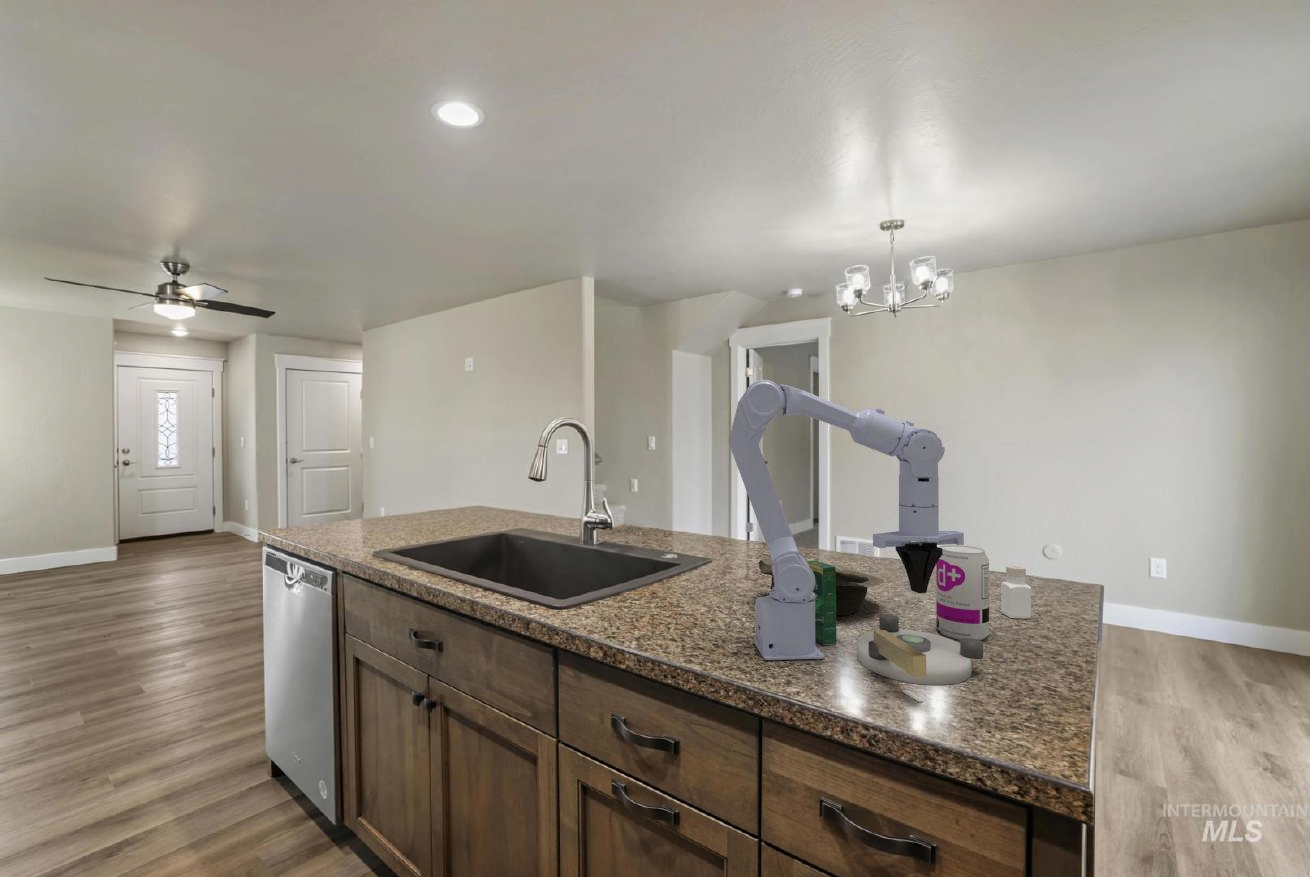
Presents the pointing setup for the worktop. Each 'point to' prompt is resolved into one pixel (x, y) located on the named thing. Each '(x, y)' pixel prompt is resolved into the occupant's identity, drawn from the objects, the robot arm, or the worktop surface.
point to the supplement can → (962, 592)
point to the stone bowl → (843, 588)
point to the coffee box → (824, 602)
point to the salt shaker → (1016, 593)
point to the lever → (897, 653)
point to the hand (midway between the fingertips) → (918, 591)
